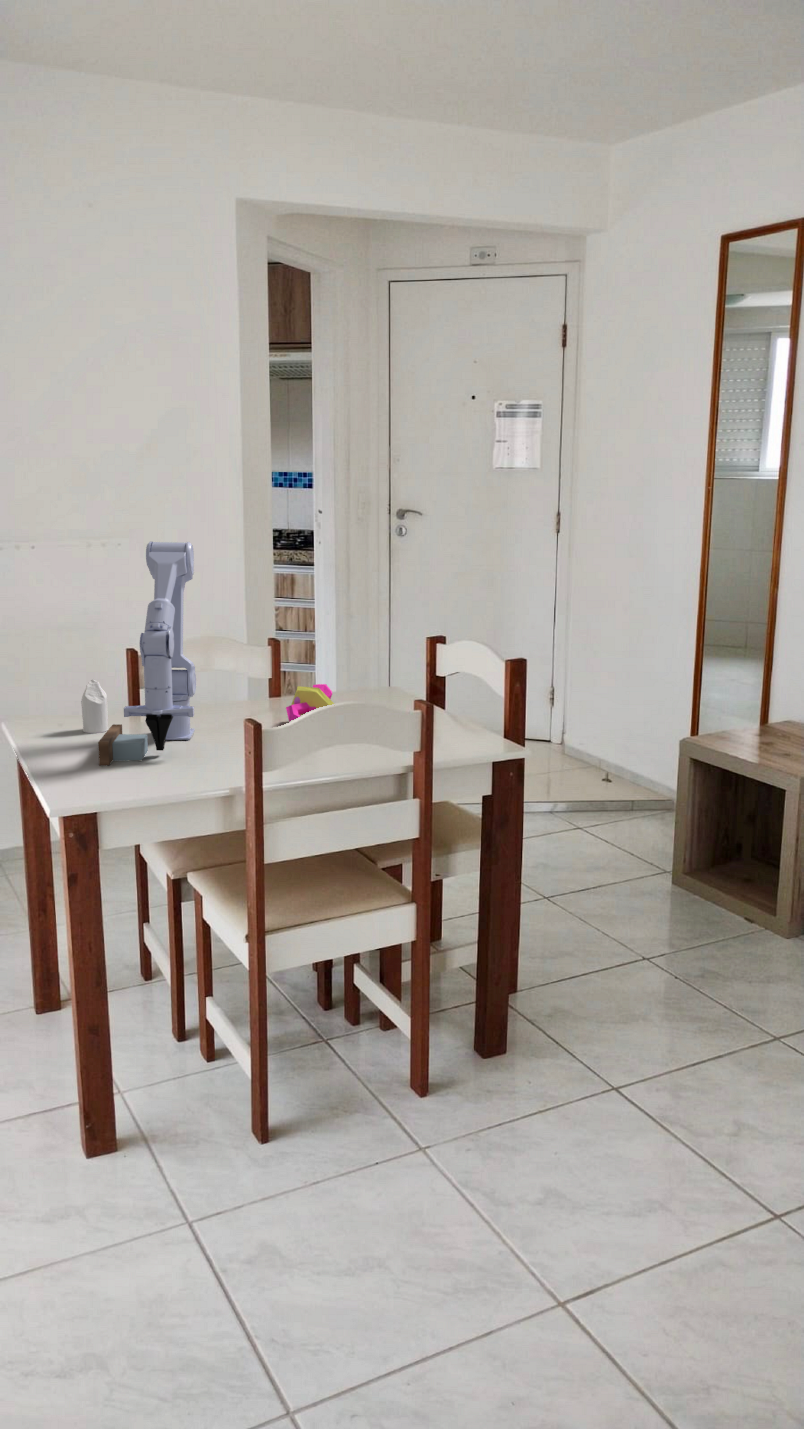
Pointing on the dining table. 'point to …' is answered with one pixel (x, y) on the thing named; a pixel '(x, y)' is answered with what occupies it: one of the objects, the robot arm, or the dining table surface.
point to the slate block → (130, 747)
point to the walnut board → (108, 744)
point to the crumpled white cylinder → (94, 708)
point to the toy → (309, 700)
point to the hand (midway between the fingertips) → (160, 749)
